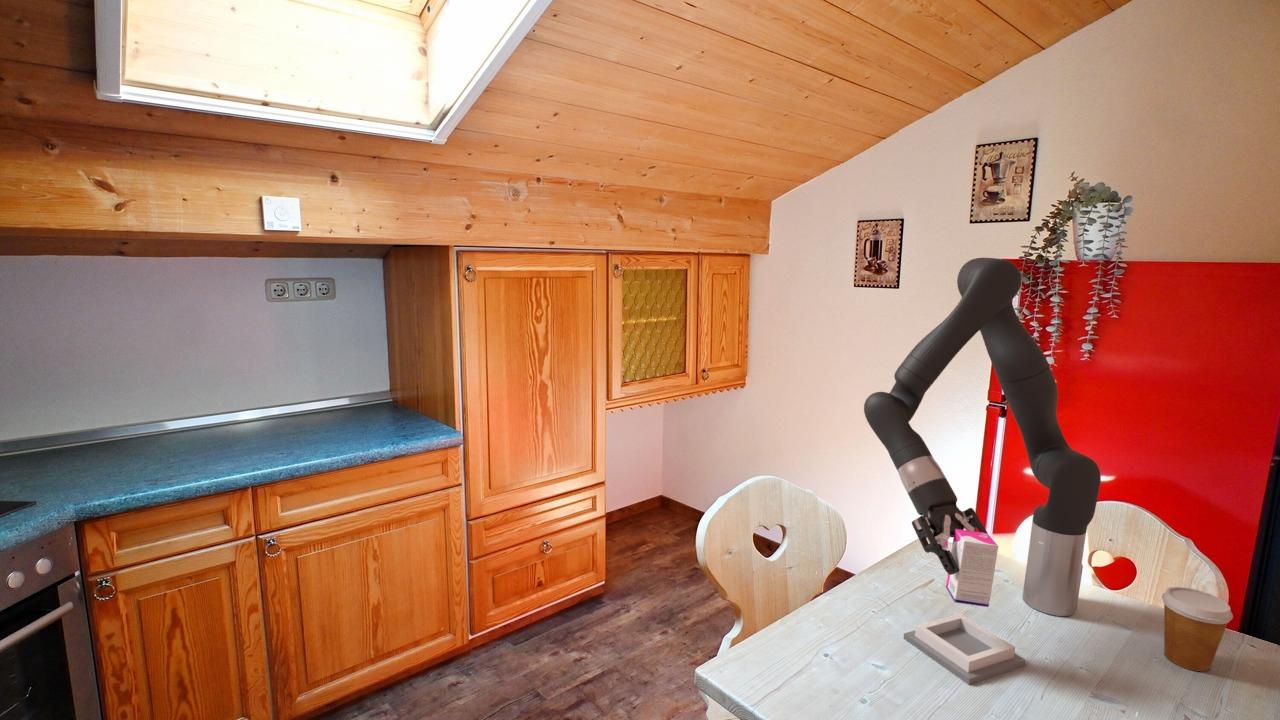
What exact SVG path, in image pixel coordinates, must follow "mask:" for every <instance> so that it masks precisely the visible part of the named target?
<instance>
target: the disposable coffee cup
mask: <svg viewBox="0 0 1280 720" xmlns="http://www.w3.org/2000/svg"><path fill="white" fill-rule="evenodd" d="M1161 599H1162V601H1163V604H1164V605H1163V607H1164V610H1163V612H1164V613H1163V614H1164V617H1163V620H1164V622H1163V624H1164V629H1163V634H1164V637H1163V638H1164V643H1163V644H1164V645H1163V649H1164V652H1163V655H1164V657H1165V658H1167V660H1168V661H1170V662H1171V663H1173V664H1175V665H1176V664H1177V666H1179V667H1181V668H1183V669H1186V670H1189V669H1190V671H1193V670H1194V672H1198V671H1201V672H1200V673H1203V671H1206V672H1208V671H1207V670H1209V669H1210V670H1211V667H1212V663H1213V661H1214V659H1215V657H1216V653H1217V651H1218V648H1219V646H1220V643H1221V642H1222V637H1224V633H1225V630H1226V628H1227V625H1228V623H1230V621H1232V620H1233V618H1234V615H1233V613H1232V611H1231V606H1230V605H1229V603H1227V602H1226V601H1225V600H1223V599H1221V598H1220V597H1217V596H1215V595H1213V594H1211V593H1208V592H1205V591H1202V590H1198V589H1194V588H1190V587H1182V586H1170V587H1168V588H1167V589H1166V590H1165V592H1164V593H1162V594H1161ZM1210 670H1209V671H1210Z"/></svg>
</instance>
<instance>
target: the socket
mask: <svg viewBox="0 0 1280 720" xmlns="http://www.w3.org/2000/svg"><path fill="white" fill-rule="evenodd" d="M903 640H906V641H907V642H908V643H909V642H910V645H912V646H914V647H915V648H916V647H917V648H916V649H918V650H919V651H921V652H923V653H924V654H925V655H926V656H928V657H929V658H931V659H932V660H934V662H936V663H937V664H939V665H940V666H942V667H944V668H945V669H946V670H948V671H949V672H950V673H952V674H953V675H954V676H956V677H957V678H959V679H960V680H962V681H963V682H965V683H966V684H967V685H971V684H974V683H977V682H979V681H983V680H985V679H989V678H992V677H995V676H998V675H1000V674H1003V673H1007V672H1009V671H1012V670H1016V669H1018V668H1022V667H1024V666H1026V659H1025V658H1024V657H1021V656H1020V655H1018V654H1017V653H1015V652H1016V651H1015V650H1016V646H1015V645H1012V644H1011V643H1009V642H1008V641H1006V640H1005V639H1003V638H1001V637H999V636H997V635H996V634H994V633H993V632H991V631H989V630H988V629H986V628H984V627H983V626H982V625H980V624H977V623H976V622H974V621H973V620H971V619H969V618H968V617H966V616H964V615H963V614H961V613H957V614H953V615H950V616H946V617H943V618H939V619H936V620H931V621H928V622H925V623H921V624H917V625H915V629H914V630H911V631H907V632H904V633H903Z"/></svg>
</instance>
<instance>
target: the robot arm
mask: <svg viewBox="0 0 1280 720" xmlns="http://www.w3.org/2000/svg"><path fill="white" fill-rule="evenodd" d="M956 282H957V283H956V284H957V285H956V286H957V289H958V292H959V294H960V296H961V298H960V300H959V302H958V303H957V305H956V306H955V307H954V309H953V310H952V311H951V312H950V313H949V315H947V317H945V319H944V320H943V321H941V322H940V323H939V324H938V325H937V326H936V327H935V328H933V329H932V330H931V331H930V332H929V333H927V334H926V335H925V336H924V337H922V339H921V340H920V341H919V342H918V343H917V344H916V345H915V346H914V347H913V349H912V350H910V351H909V353H908V354H907V356H906V357H905V358H904V359H903V361H902V362H901V363H900V365H898V367H897V369H896V371H895V372H894V375H893V376H894V380H895V383H894V385H893V386H892V388H891V390H890V391H889V392H886V391H876V392H873V393H871V394H870V395H868V397H867V398H866V399H865V402H864V405H863V411H864V416H865V420H866V421H867V424H868V425H869V426H870V428H871V429H872V431H873V433H874V434H875V435H876V436H877V438H878V439H879V441H880V442H881V443H882V445H883V446H884V447H885V449H886V450H887V452H888V454H889V457H890V459H891V461H892V462H893V465H894V467H895V469H896V471H897V473H898V475H899V478H900V481H901V483H902V485H903V488H904V489H905V491H906V493H907V495H908V497H909V499H910V500H911V503H912V505H913V507H914V509H915V511H916V513H917V514H918V515H919V517H917V518H915V519H914V520H912V521H911V525H912V527H913V529H914V531H915V533H916V536H917V538H918V540H919V542H920V544H921V546H922V548H923V551H924V552H925V553H926V554H927V553H928V554H929V553H932V554H933V553H934V555H936V556H937V557H938V559H939V562H940V563H941V565H942V567H943V569H944V571H945V572H946V573H947V575H948V574H949V575H952V574H955V573H957V572H959V567H958V565H957V563H956V561H955V560H954V558H953V556H952V554H951V550H948V549H949V546H948V545H949V539H950V538H954V532H955V529H960V530H967V531H974V532H983V533H988V531H987V529H986V528H985V526H984V525H983V523H982V521H981V520H980V518H979V516H978V515H977V512H975V510H974V508H972V507H969V508H967V509H965V510H960V509H959V507H958V506H957V502H958V497H957V496H956V493H955V491H954V489H953V488H952V486H951V484H950V483H949V481H948V479H947V477H946V476H945V474H944V472H943V470H942V468H941V467H940V465H939V464H938V462H937V461H936V459H935V458H934V456H933V455H932V453H931V452H930V449H929V447H928V445H927V444H926V443H925V441H924V439H923V438H922V437H921V435H920V434H919V433H918V432H917V431H916V430H914V429H913V428H912V426H911V424H910V421H911V420H912V419H913V417H914V415H915V414H916V412H917V410H918V409H919V406H920V405H921V403H922V400H923V398H924V396H925V394H926V392H927V391H928V390H929V389H930V387H931V386H932V385H933V384H934V383H935V381H936V380H937V379H938V378H939V377H940V375H941V374H942V373H943V372H944V371H945V369H946V368H947V366H948V365H949V364H950V363H951V362H952V361H953V359H954V358H955V357H956V356H957V355H958V353H959V352H960V351H961V350H962V349H963V347H965V346H966V344H968V343H969V341H970V340H971V339H972V338H973V337H974V336H975V335H976V334H977V333H978V332H980V334H981V337H982V338H983V339H982V340H983V343H984V346H985V348H986V352H987V354H988V357H989V359H990V361H991V364H992V367H993V370H994V372H995V375H996V378H997V381H998V383H999V385H1000V388H1001V391H1002V393H1003V395H1004V397H1005V399H1006V402H1007V403H1008V405H1009V408H1010V410H1011V413H1012V416H1013V418H1014V420H1015V423H1016V424H1017V427H1018V428H1019V432H1020V433H1021V437H1022V439H1023V440H1022V441H1023V444H1024V448H1025V450H1026V454H1027V458H1028V462H1029V466H1030V469H1031V471H1032V473H1033V475H1034V477H1035V479H1036V480H1037V481H1038V483H1039V484H1041V485H1042V486H1043V487H1045V488H1047V489H1049V492H1048V497H1047V501H1046V504H1042V505H1037V506H1036V507H1035V509H1034V510H1033V514H1032V523H1031V530H1030V539H1029V544H1028V545H1029V546H1028V552H1027V553H1028V554H1027V560H1026V561H1027V562H1026V569H1025V575H1024V585H1023V590H1022V600H1023V602H1024V603H1025V604H1026V605H1028V606H1029V607H1030V608H1032V609H1034V610H1036V611H1038V612H1041V613H1044V614H1048V615H1052V616H1059V617H1069V616H1072V615H1073V614H1075V612H1076V608H1077V607H1078V602H1079V596H1080V590H1081V584H1082V583H1081V582H1082V574H1083V568H1084V565H1083V558H1084V551H1085V544H1086V538H1087V537H1086V535H1087V530H1088V526H1089V524H1090V523H1091V522H1092V521H1093V518H1094V516H1095V512H1096V508H1097V502H1098V498H1099V493H1100V489H1101V483H1102V482H1101V469H1100V468H1099V465H1098V464H1097V462H1096V461H1095V460H1093V459H1092V458H1091V457H1089V456H1087V455H1085V454H1083V453H1081V452H1078V451H1077V450H1075V449H1073V448H1072V447H1071V445H1069V443H1068V441H1067V440H1066V438H1065V436H1064V433H1063V432H1062V429H1061V427H1060V425H1059V422H1058V416H1057V409H1058V408H1057V407H1058V400H1059V399H1058V395H1059V393H1058V386H1057V382H1056V378H1055V375H1054V374H1053V371H1052V369H1051V365H1050V363H1049V361H1048V359H1047V357H1046V355H1045V353H1044V352H1043V350H1042V348H1041V347H1040V346H1039V344H1038V343H1037V341H1036V340H1035V338H1033V336H1032V335H1031V333H1030V332H1029V331H1028V330H1027V328H1026V327H1025V325H1024V324H1023V323H1022V322H1021V320H1020V318H1019V317H1018V315H1017V312H1016V310H1015V308H1014V305H1013V302H1012V300H1013V299H1014V298H1015V297H1016V296H1017V295H1018V293H1019V291H1020V289H1021V286H1022V282H1023V281H1022V274H1021V271H1020V269H1019V268H1018V266H1017V265H1016V264H1015V263H1013V262H1012V261H1009V260H1006V259H1003V258H994V257H976V258H972V259H970V260H967V262H965V263H964V264H963V266H962V267H961V268H960V269H959V272H958V274H957V280H956ZM976 529H977V530H978V531H977V530H976ZM927 539H928V540H927Z"/></svg>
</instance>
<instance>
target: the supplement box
mask: <svg viewBox="0 0 1280 720" xmlns="http://www.w3.org/2000/svg"><path fill="white" fill-rule="evenodd" d="M952 538H953V539H952V547H951V550H950V552H951V554H952V556H953V558H954V560H955V561H956V563H957V565H958V567H959V572H957V573H955V574H952V575H949V574H948V573H947V579H946V584H945V585H946V586H945V588H946V589H947V592H948V593H949V595H950V597H951V598H952V601H953V602H954V603H957V604H964V605H971V606H979V607H983V608H984V607H986V608H989V607H990V601H991V593H992V589H993V583H994V582H993V581H994V577H995V569H996V563H997V557H998V553H999V552H998V551H999V545H998V544H997V542H996V541H994V539H993V538H992V537H991V536H990V534H989V533H988V532H987V533H983V532H979V531H977V532H974V531H967V530H966V529H964V530H960V529H955V532H954V537H952Z"/></svg>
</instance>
